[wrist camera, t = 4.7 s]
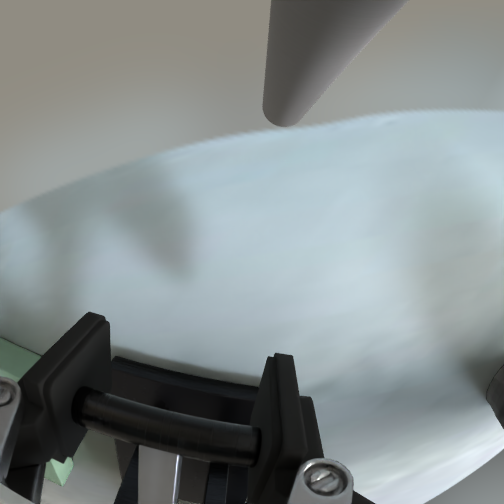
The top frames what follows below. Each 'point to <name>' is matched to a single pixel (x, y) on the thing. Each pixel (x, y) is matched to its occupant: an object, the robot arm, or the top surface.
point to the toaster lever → (165, 439)
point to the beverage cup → (497, 396)
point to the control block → (14, 367)
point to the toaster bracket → (190, 403)
